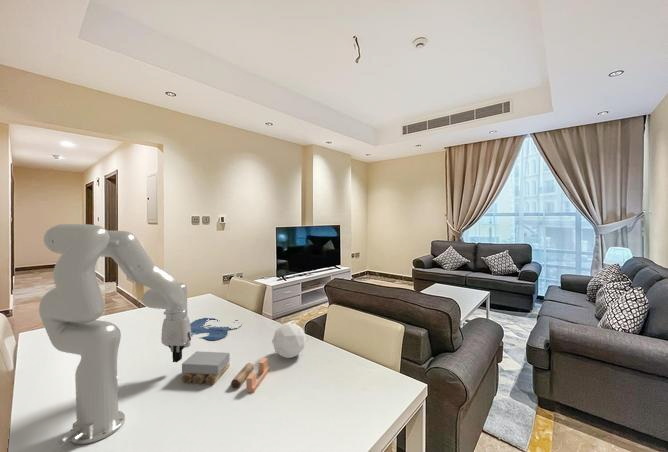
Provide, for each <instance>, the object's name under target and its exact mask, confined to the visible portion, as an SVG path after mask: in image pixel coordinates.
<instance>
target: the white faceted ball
mask: <svg viewBox="0 0 668 452" xmlns="http://www.w3.org/2000/svg"><path fill="white" fill-rule="evenodd" d="M306 340H307V338H306V335H305V331H304V329H303V328H302V327H301V326H299V325H298V324H296V323H289V322H287V323H283V324H282V325H281V326H279V328H277V329H276V330H275V331H274V335H273V339H272V341H271V342H272V345H273V349H274V352H276V353H277V354H278V355H280V356H281V357H282V358H284V359H285V358H286V359H292V358H294V357H296V356H298V355H299V354H300V353H301V352H302V351H303V350H304V348H305V345H306Z"/></svg>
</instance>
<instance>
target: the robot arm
mask: <svg viewBox="0 0 668 452" xmlns="http://www.w3.org/2000/svg"><path fill="white" fill-rule="evenodd" d="M43 244H44V245H45V247H46V248H47V249H48V250H49V251H50V252H53V253H55V254H59V255H60V257H59V258H58V260H57V262H56V263H55V265H54V267H53V271H52V278H53V282H54V286H55V288H52V289H51V290H49V291H47V292H46V293H45V294H44V295H43V296H42V298H41V300H40V302H39V305H38V306H39V307H38V312H39V316H40V319H41V322H42V324H43V327H44V329H45V332H46V334H47V336H48V338H49V341H50V343H51V345H52V346H53V347H54V348H55V349H56V350H57V351H58V352H62V353H67V354H72V355H73V354H74V355H78V356H80V357H81V358H80V361H79V363H78V365H77V367H76V368H75V377H74V378H75V382H74V383H75V408H76V409H75V410H76V411H75V412H76V415H75V416H76V421H75V422H73V423H72V428H71V429H70V430H69V431H68V432H67V433H66V434H65V435H63V436H62V437H59V438H58V440H57V443H58V445H59V446H61V447H62V446H64V445H66V444H67V443H69V441H70V442H71V443H72V444H75V445H87V444H90V443H91V444H92V443H94V442H97V441H100V440H103V439H105V438H107V437H109V436H111V435H112V434H114V433H115V432H116V431H118V430H119V429H120V428H121V427H122V425H123V424H124V423H125V420H126V419H125V418H126V416H125V413H124V412H123V411H121V410H119V392H118V391H119V390H118V389H119V387H118V385H119V383H118V381H119V380H118V356H119V349H120V342H121V337H122V332H121V329H120V328H119V326H117V325H116V324H115V323H113V322H110V321H107V320H100V318H101V317H102V316H103V314H104V312H105V309H106V305H105V299H104V297H103V294H102V290H101V287H100V284H99V281H98V278H97V274H96V265H97V262H98V261H99V258H100V257H105V258H112V259H113V261H114V262H115V263H116V264H117V266H118V267H119V268H120V270H121V271H122V272H123V274H124V275H125V277H126V278H127V279H129V280H130V281H132V282H134V283H136V284H139V285H141V286H145V287H147V288H149V289H147V290H146V291H144V293H143V295H142V297H141V303H142V305H144V306H145V307H146V308H149V309H156V310H158V309H159V310H165V311H164V312H163V315H165V318H164V319H163V322H162V327H161V344H162V345H163V346H166V347H168V348H169V349H170V352H171V353H172V363H179V361H181V360H182V359H183V350H184V349H185V348H189V347H190V346H191V340H192V337H191V334H192V333H191V326H190V324H191V321H190V318H189V317H188V286H187V284H186V283H184V282H178V281H177V279H176V278H175V277H174V276H172V275H171V274H170V273H168V272H167V271H166V270H164V269H163V268H161V267H160V266H158V265H156V264H155V263H154V261H153V260H152V258H151V257H150V256H149V254H148V253H147V251H146V249H145V248H144V247H143V245H142V243H141V242H140V241H139V239H138V238H137V237H136V235H135V234H133V233H132V232H130V231H125V230H107V229H106V228H105V227H103V226H100V225H96V224H88V223H87V224H86V223H79V224H78V223H77V224H76V223H75V224H74V223H61V224H56V225H54V226H52V227H50V228H49V229H48V230H46V232H45V233H44V236H43Z"/></svg>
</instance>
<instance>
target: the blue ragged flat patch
mask: <svg viewBox="0 0 668 452" xmlns="http://www.w3.org/2000/svg"><path fill="white" fill-rule="evenodd" d="M208 319H209V320H208ZM210 320H217V321H216V322H219V321H218V319H217V318H214V317H211V318H210V317H203V318H198V319H195V320H194V321H192V322H190V326H191V338H192V337H193V336H194V335H201V334H202V335H203V334H207V335H205V336H202V337H200V339H204V340H208V341H216V340H221V339H223V338H225V337H227V335H228V332H229V330H232V329H231V328H232V327H231V328H229V327H230V326H216V325H215V326H212V324H207V323H209V322H208V321H210ZM234 320H235V319H234ZM238 320H239V319H237V320H235V321H238ZM205 323H206V324H207V325H205ZM233 328H234V329H233V330H236V329H237V328H235V327H233Z"/></svg>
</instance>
